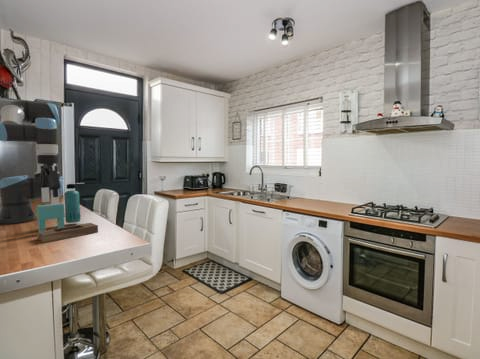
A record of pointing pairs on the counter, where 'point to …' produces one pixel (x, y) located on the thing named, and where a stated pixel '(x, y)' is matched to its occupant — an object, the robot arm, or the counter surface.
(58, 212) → the notched teal block
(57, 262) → the counter surface
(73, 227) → the rail
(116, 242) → the counter surface
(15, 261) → the counter surface
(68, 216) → the beverage bottle
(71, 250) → the counter surface
